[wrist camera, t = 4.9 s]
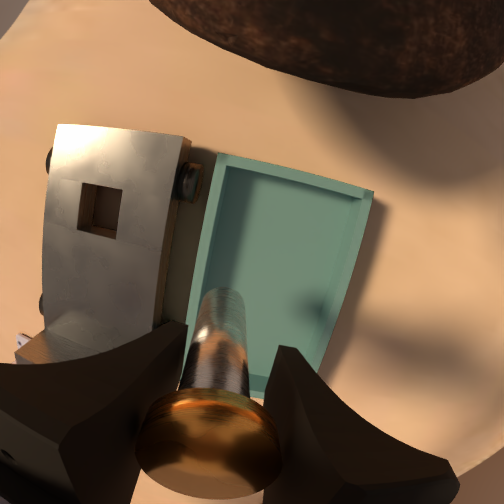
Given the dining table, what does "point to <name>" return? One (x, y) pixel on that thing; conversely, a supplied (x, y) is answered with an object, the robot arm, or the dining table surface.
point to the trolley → (107, 238)
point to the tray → (278, 256)
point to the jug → (357, 40)
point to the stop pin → (212, 414)
